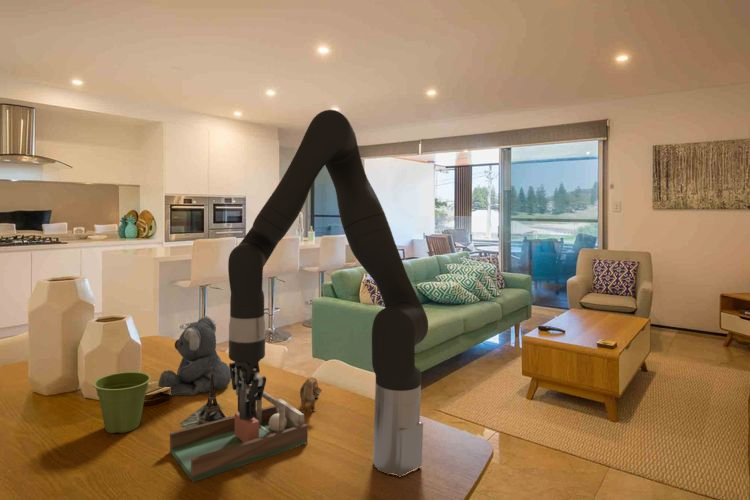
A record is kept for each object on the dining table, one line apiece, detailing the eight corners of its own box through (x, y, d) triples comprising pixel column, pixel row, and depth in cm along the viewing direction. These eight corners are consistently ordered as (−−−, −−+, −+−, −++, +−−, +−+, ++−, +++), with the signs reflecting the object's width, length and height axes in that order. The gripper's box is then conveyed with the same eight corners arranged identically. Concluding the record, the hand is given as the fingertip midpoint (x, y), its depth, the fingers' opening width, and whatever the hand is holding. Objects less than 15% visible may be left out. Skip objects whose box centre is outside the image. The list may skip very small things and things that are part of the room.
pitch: (307, 443, 106) (308, 400, 105) (192, 482, 90) (192, 431, 90) (276, 421, 117) (277, 381, 116) (169, 451, 101) (169, 406, 100)
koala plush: (182, 375, 147) (181, 312, 145) (240, 377, 146) (240, 314, 145) (153, 397, 130) (153, 325, 128) (219, 400, 129) (219, 328, 127)
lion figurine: (321, 417, 120) (322, 382, 119) (300, 418, 119) (300, 383, 118) (318, 395, 134) (318, 363, 133) (298, 395, 133) (299, 364, 133)
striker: (260, 443, 103) (260, 391, 102) (246, 447, 101) (247, 394, 100) (246, 431, 108) (246, 381, 107) (233, 435, 106) (233, 384, 105)
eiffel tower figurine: (207, 404, 127) (207, 354, 126) (243, 407, 125) (243, 357, 124) (174, 429, 112) (173, 373, 111) (214, 434, 110) (214, 377, 109)
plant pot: (128, 442, 105) (127, 392, 104) (81, 435, 107) (80, 386, 106) (162, 419, 116) (161, 373, 115) (119, 413, 119) (118, 369, 118)
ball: (291, 416, 109) (275, 417, 106) (288, 433, 109) (272, 435, 106) (282, 410, 112) (267, 411, 109) (279, 427, 112) (264, 428, 109)
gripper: (278, 341, 100) (277, 421, 101) (249, 327, 110) (248, 400, 112) (244, 346, 95) (244, 431, 96) (217, 331, 106) (217, 407, 107)
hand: (246, 414), depth 104 cm, fingers closed on striker, 3 cm apart
